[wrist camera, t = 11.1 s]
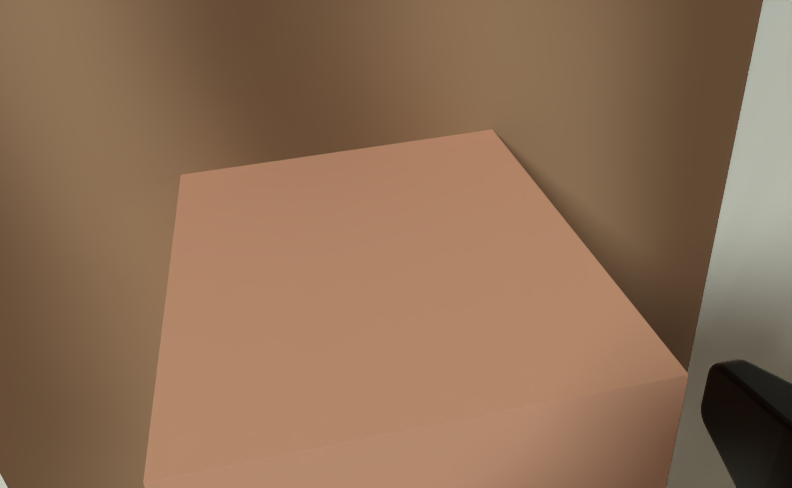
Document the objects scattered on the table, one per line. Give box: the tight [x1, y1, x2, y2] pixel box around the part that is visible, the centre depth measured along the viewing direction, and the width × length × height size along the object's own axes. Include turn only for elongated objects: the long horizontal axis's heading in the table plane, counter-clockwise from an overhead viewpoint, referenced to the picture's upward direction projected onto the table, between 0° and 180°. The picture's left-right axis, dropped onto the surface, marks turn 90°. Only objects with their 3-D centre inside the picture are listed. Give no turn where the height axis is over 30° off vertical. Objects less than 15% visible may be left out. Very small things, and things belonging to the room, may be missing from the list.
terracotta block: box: [143, 129, 689, 488], centre depth 10 cm, size 5×5×6 cm
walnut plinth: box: [0, 0, 763, 488], centre depth 14 cm, size 14×14×4 cm
